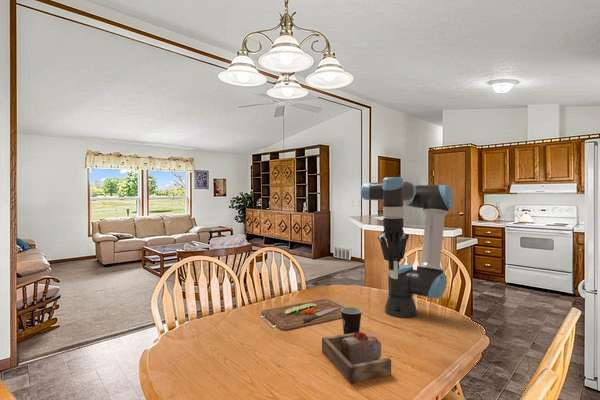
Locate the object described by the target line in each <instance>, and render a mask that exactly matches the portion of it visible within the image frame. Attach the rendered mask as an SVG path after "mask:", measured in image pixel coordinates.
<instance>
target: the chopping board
mask: <svg viewBox="0 0 600 400" xmlns="http://www.w3.org/2000/svg"><path fill="white" fill-rule="evenodd" d="M327 301H328V302H327ZM329 302H330V303H329ZM331 303H332V304H331ZM333 304H334V305H333ZM345 307H348V306H346V305H345V304H343V303H341V302H338V301H336V300H335V301H334V300H331V299H329V298H327V299H326V298H321V299H317V300H312V301H311V300H310V301H306V302H301V303H294V304H291V305H290V304H289V305H284V306H279V307H273V308H267V309H263V310H262V311H261V315H259V318H260V319H261V320H262V321H263V322H264V323H266V324H267V325H268V326H269V327H270V328H271V329H275V328H277V329H278V330H280V331H283V332H287V331H292V330H297V329H301V328H306V327H311V326H314V325H319V324H325V323H328V321H329V322H332V321H337V319H338V320H342V314H341V309H342V308H345ZM267 320H268V321H269V322H270V323H269V322H268V321H267Z"/></svg>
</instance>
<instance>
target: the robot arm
mask: <svg viewBox="0 0 600 400" xmlns="http://www.w3.org/2000/svg"><path fill="white" fill-rule="evenodd" d="M360 196H361V198H362V199H363V200H364V201H380V202H381V201H382V213H383V215H382V216H383V217H384V218H383V220H382V221H383V222H382V223H383V224H382V227H383V231H382V234H381V235H378V236H377V240H378V241H379V243H380V247H381V252H382V256H383V260H385V261H388V275H387V279H388V291H387V292H388V295H387V298H386V303H385V306H384V313H386V314H387V315H389V316H392V317H396V318H413V317H415V316H416V315H417V314H418V313H417V312H418V311H417V307H416V304H415V301H414V297H413V296H414V295H417V296H421V297H424V298H425V297H426V298H429V299H440V298H441V297H443V295H444V294H445V291H446V288H447V285H448V284H447V283H448V277H447V274H445V273H444V269H443V267H441V261H442V250H443V249H442V247H443V238H444V226H445V217H446V216H447V215H448V214H449V212H450V211H449V210H452V209H454V205H455V204H454V203H455V201H454V194H453V190H452V188H451V187H450V186H449V185H447V184H432V185H431V184H427V185H426V184H424V185H423V184H422V185H421V184H418V185H415V184H414V183H413V182H410V181H404V179H403V177H400V176H398V177H397V176H393V177H392V176H391V177H389V176H388V177H384V178H383V179H382V182H364V183H363V184H362V185H361V187H360ZM404 206H405V207H406V206H407V207H410V208H417V209H422V212H424V214H425V219H424V220H425V221H424V229H423V240H422V250H421V260H420V263H419V264H418V265H417V266H416V269H415V268H414V266H413V265H410V264H400V262H401V261H402V260H403V259H404V257H405V252H406V247H407V243H408V240H409V237H410V235H409V234H407V233H405V232H404V231H405V230H404V227H405V225H404V223H405V222H404V218H403V217H404Z"/></svg>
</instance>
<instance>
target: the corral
mask: <svg viewBox="0 0 600 400" xmlns="http://www.w3.org/2000/svg"><path fill="white" fill-rule="evenodd" d="M354 334H355V333H350V334H344V333H343V334H339V335H331V336H326V337H322V338H321V351H322V352H323V354H324V355H325V356H326V358H327V359H328V360H329V361H330V362H331V363H332V364H333V365H334V366H335V368H336V369H337V371H339V372H340V373H341V375H342V374H343V375H342V376H343V377H344V378H345V379H346V380H347V381H348V383H349V384H355V383H356V384H357V383H359V382H363V381H368V380H375V379H377V378H378V379H379V378H384V377H389V376H392V359H391V358H390V357H385V358H379V359H377V360H373V361H369V362H364V363H359V364H354V365H352V364H351V363H350V362H349V361H348V360H347V359H346V358H345V357H344V356H343V355H342V354H341V344H342V339H344V338H349V337H354Z"/></svg>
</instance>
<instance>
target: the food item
mask: <svg viewBox="0 0 600 400" xmlns="http://www.w3.org/2000/svg"><path fill="white" fill-rule="evenodd" d="M340 353H341V354H342V355H343V356H344V357H345V358H346V359H347V360H348V361H349V362H350V363H351V364H352V365H354V364H359V363H364V362H369V361H375V360H379V359H381V356H382V343H381V341H380V339H378V338H377V336H376V335H375V334H373V333H370V332H369V333H364V332H360V331H359V332H357V333H355V334H354V337H349V338H344V339H342V344H341V350H340Z"/></svg>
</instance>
